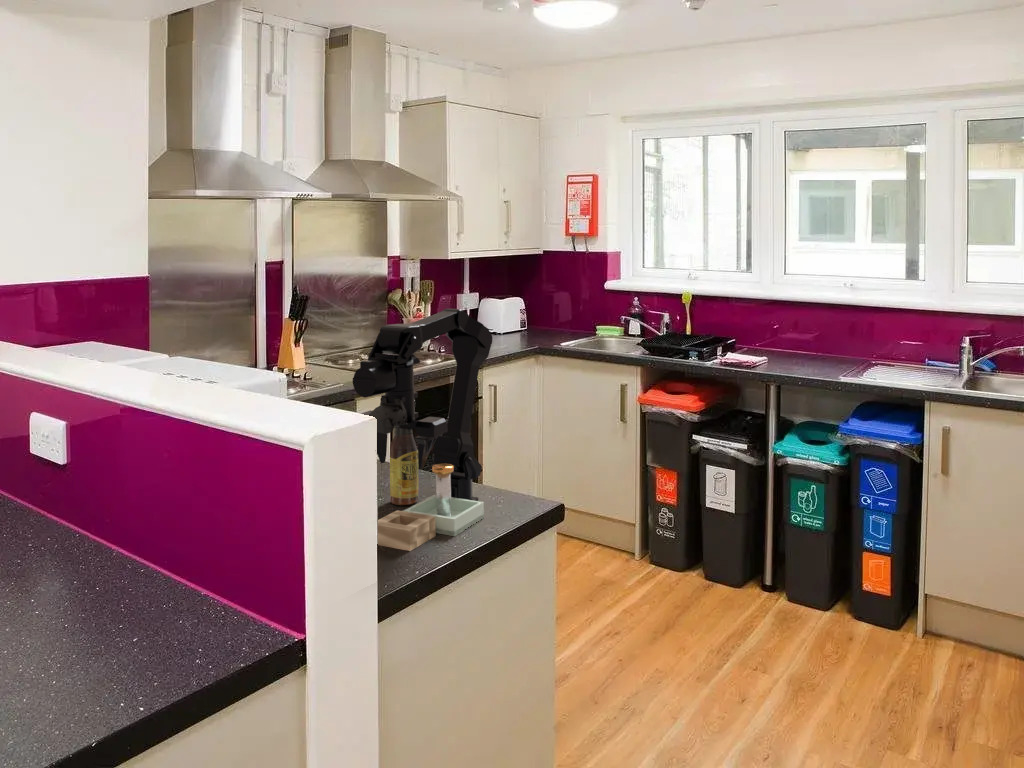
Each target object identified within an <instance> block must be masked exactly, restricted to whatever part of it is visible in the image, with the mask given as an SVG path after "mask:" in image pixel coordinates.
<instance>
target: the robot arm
mask: <svg viewBox="0 0 1024 768" xmlns="http://www.w3.org/2000/svg"><path fill="white" fill-rule="evenodd" d="M442 335H445V336H446V338H447V339H449V341H451V352H452V354H453V357H454V360H455V363H456V367H455V373H454V379H453V385H452V390H451V391H452V392H451V397H450V402H449V403H450V404H449V410H448V416H447V420H446V419H445V418H444V417H436V416H427V417H425V418H423V419H418V418H419V412H416V411H415V410H416V409H415V399H417V398H419V392H417V391H415V384H414V381H415V380H414V378H415V377H414V365H418V364H421V360H420V359H419V358H418V357H417V356H415V353H417V352H418V351H419V350H422V348H423V345H424V343H426V342H428V341H431V340H433V339H435V338H437V337H440V336H442ZM492 344H493V334H492V333H491V332H490V330H489V328H488V327H487V326H485V325H484V324H483V323H481V322H480V321H478V320H477V319H475V318H473V317H472V316H470V314H468V313H467V312H466V311H465V310H464V309H460V308H459V309H458V308H445V309H442V310H440V311H439V312H437V313H435V314H432V315H429V316H426V317H423V318H421V319H418V320H416V321H413V322H409V323H394V324H393V323H392V324H384V325H383V326H381V328H380V329H379V333H378V335H377V337H376V338H375V341H374V343H373V346H372V348H371V351H370V352H369V354H368V357H367V360H361V361H359V366H360V367H359V368H357V369H356V370H355V372H354V375H353V378H352V386H353V389H354V391H355V393H356V394H357V395H358V396H360V397H362V398H371V397H374V396H378V395H380V404H379V406H377V407H375V408H373V410H371V409H370V410H367V411H365V412H362V413H360V414H364V415H369V416H373V417H375V418H376V419H377V453H376V455H377V457H378V460H379V462H380V464H384V463H386V460H387V459H386V458H387V451H388V449H387V448H388V435H389V434H391V432H393V431H394V429H395V428H404V429H412V431H414V432H415V433H416V435H417V436H414V440H415V442H416V444H417V449H418V469H419V470H420V469H423V468H424V467H425V465H426V463H427V459H428V458H429V455H430V452H431V454H432V462H433V463H434V464H433V465H435V464H442V463H446V464H452V465H453V466H454V471H453V472H452V473H450V476H451V497H453V498H460V499H466V500H473V501H479V497H477V496H473V480H477V479H478V478H479V477H480V476H481V472H482V467H483V466H482V464H481V463H480V462H479V461H478V459H477V458H476V457H475V456H474V447H475V446H474V443H473V439H472V438H471V435H470V425H471V421H472V414H473V408H474V402H475V395H476V391H477V390H476V389H477V385H478V377H479V370H480V368H481V366H482V365H483V363H484V362H485V361H486V360H487V359H488V357H489V356H490V351H491V349H492V348H491V347H492ZM416 419H417V420H416ZM404 423H405V424H404ZM407 424H408V425H407ZM432 448H433V450H432ZM431 450H432V451H431Z"/></svg>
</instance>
